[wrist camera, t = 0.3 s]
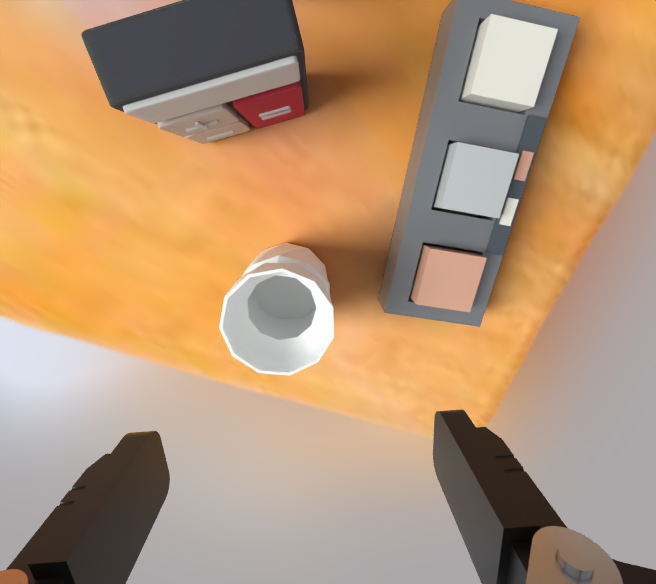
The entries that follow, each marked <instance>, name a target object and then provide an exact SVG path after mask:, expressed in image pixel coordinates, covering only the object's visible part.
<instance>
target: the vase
mask: <svg viewBox="0 0 656 584" xmlns="http://www.w3.org/2000/svg"><path fill="white" fill-rule="evenodd" d="M333 312H334V307H333V304H332V302H331V298H330V283H329V281H328V279H327V273H326V268H325V265H324V264H323V263H322V262H321V261H320V259H319V258H318V257H317V256H316V255H315V254H314V253H313V252H312V251H311V250H310V249H309V248H305V247H301V246H298V245H294V244H290V243H283V244H280V245H277V246H274V247H271V248H268V249H265V250H263V251H262V252H261V253H260V254H259V255H258V256H257V257H256V258H255V259H254V260H253V261H252V263H251V264H250V265H249V266H248V268H247V269H246V270H245V272H244V273H243V275H242V276H241V277H240V278H239V279H238V280H237V281H236V282H235V284H234V285H233V286H232V287H231V289H230V290H229V292H228V293H227V294H226V296H225V298H224V303H223V309H222V314H221V319H220V325H219V329H220V331H221V333H222V335H223V337H224V339H225V341H226V343H227V346H228V348H229V350H230V352H231V354H232V356H234V357H235V358H237V359H238V360H240V361H241V362H243V363H244V364H246V365H247V366H249V367H250V368H252V369H253V370H255V371H256V372H258V373H266V374H279V375H292V374H294V373H296V372H298V371H300V370H302V369H305V368H307V367H309V366H311V365H313V364H315V363H317V362H318V361H319V360H320V358H321V357H322V355H323V354H324V352H325V350H326V349H327V347H328V346H329V344H330V343H331V341H332V340H333V338H334V318H333Z"/></svg>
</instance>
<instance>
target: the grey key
mask: <svg viewBox="0 0 656 584" xmlns="http://www.w3.org/2000/svg"><path fill="white" fill-rule="evenodd" d="M518 156H519V154H517V153H512V152H507V151H502V150H497V149H492V148H486V147H481V146H476V145H471V144H466V143H461V142H456V143H453V144H449V145H447V149H446V153H445V157H444V161H443V165H442V169H441V172H440V176H439V180H438V184H437V188H436V192H435V196H434V200H433V204H432V206H433V207H438V208H443V209H449V210H454V211H460V212H466V213H471V214H477V215H482V216H488V217H494V218H500V214H501V211H502V208H503V205H504V201H505V198H506V195H507V192H508V189H509V185H510V182H511V179H512V176H513V173H514V169H515V166H516V163H517V160H518Z"/></svg>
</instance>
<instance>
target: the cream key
mask: <svg viewBox="0 0 656 584" xmlns="http://www.w3.org/2000/svg"><path fill="white" fill-rule="evenodd" d="M557 31H558V29H555V28H550V27H546V26H542V25H538V24H533V23H529V22H525V21H520V20H516V19H512V18H507V17H503V16H499V15H494V14H491V15H490V16H489V17H487V18H486V19H485V20H484V21H483V22H482V23H481V24H480V25H479V26H478V27H477V30H476V34H475V38H474V42H473V46H472V50H471V54H470V57H469V61H468V65H467V69H466V73H465V77H464V81H463V85H462V89H461V93H460V97H459V102H464V103H469V104H474V105H479V106H484V107H488V108H493V109H498V110H503V111H508V112H513V113H518V112H521V111H523V110H526V109H529V108H532V107H534V105H535V102H536V99H537V95H538V92H539V89H540V86H541V83H542V79H543V76H544V73H545V70H546V66H547V63H548V60H549V57H550V54H551V50H552V47H553V44H554V41H555V38H556V34H557Z"/></svg>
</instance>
